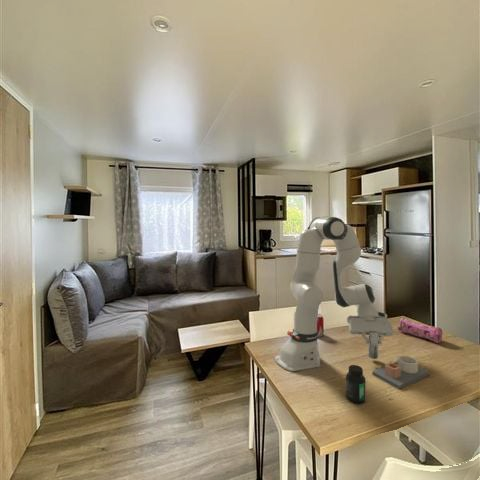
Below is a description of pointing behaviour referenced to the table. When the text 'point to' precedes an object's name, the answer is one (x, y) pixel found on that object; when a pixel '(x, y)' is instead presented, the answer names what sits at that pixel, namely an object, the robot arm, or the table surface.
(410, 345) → the table surface
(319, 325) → the soda can
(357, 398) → the supplement bottle
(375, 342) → the metal peg
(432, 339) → the pencil case
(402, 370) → the holder board
